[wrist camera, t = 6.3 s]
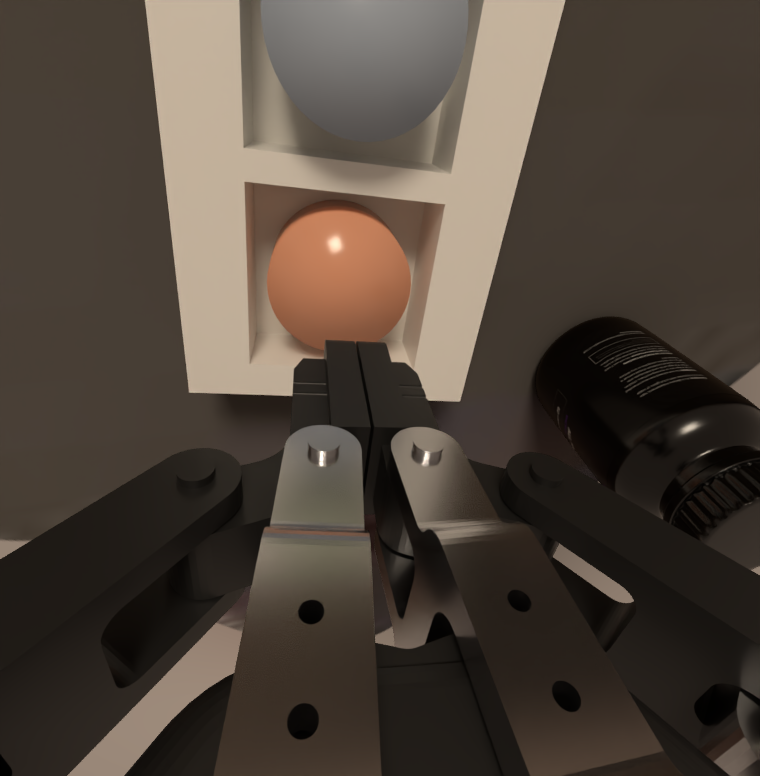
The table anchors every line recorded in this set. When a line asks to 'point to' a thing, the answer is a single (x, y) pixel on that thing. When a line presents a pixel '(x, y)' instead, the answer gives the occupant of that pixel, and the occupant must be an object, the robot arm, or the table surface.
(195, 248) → the button box
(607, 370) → the supplement bottle
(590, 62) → the table surface
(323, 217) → the button terracotta
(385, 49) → the button slate
